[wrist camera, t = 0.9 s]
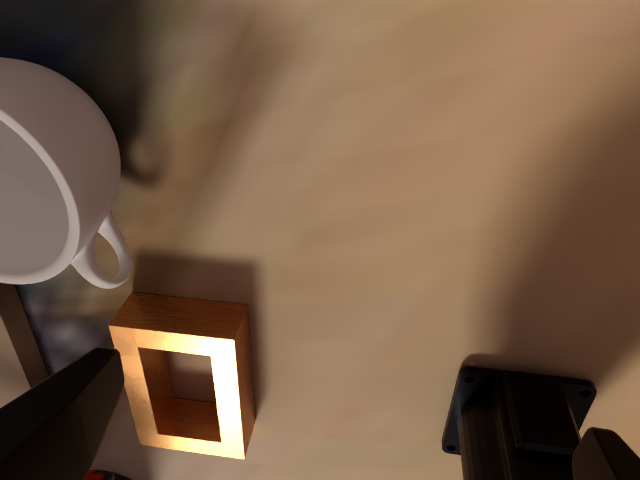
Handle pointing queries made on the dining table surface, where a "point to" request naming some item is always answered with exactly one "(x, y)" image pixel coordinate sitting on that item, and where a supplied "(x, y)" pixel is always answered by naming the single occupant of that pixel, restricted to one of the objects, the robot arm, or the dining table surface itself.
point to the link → (155, 382)
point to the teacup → (55, 178)
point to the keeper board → (17, 348)
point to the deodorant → (103, 476)
